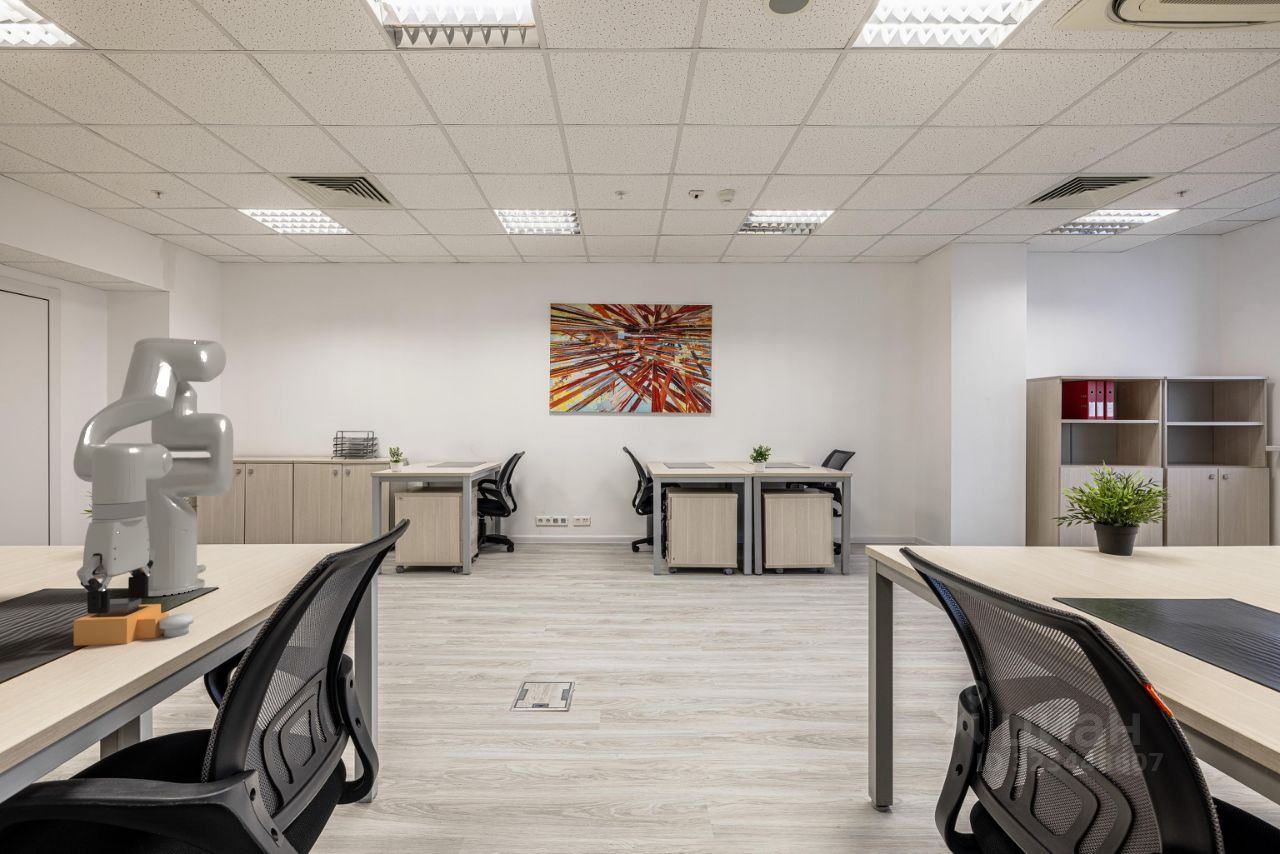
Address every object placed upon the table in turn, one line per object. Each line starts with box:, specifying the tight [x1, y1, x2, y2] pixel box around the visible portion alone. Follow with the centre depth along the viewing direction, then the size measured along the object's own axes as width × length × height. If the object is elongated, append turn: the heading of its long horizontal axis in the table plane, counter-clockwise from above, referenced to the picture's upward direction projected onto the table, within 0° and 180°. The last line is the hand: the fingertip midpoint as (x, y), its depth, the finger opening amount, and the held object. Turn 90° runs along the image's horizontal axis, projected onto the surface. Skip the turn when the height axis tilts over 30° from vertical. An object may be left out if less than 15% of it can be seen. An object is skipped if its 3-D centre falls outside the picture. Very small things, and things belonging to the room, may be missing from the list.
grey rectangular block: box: [100, 598, 142, 617], centre depth 107 cm, size 3×5×6 cm, turn 98°
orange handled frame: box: [73, 603, 195, 647], centre depth 108 cm, size 17×9×4 cm, turn 97°
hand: (119, 604), depth 107 cm, fingers open, 9 cm apart
